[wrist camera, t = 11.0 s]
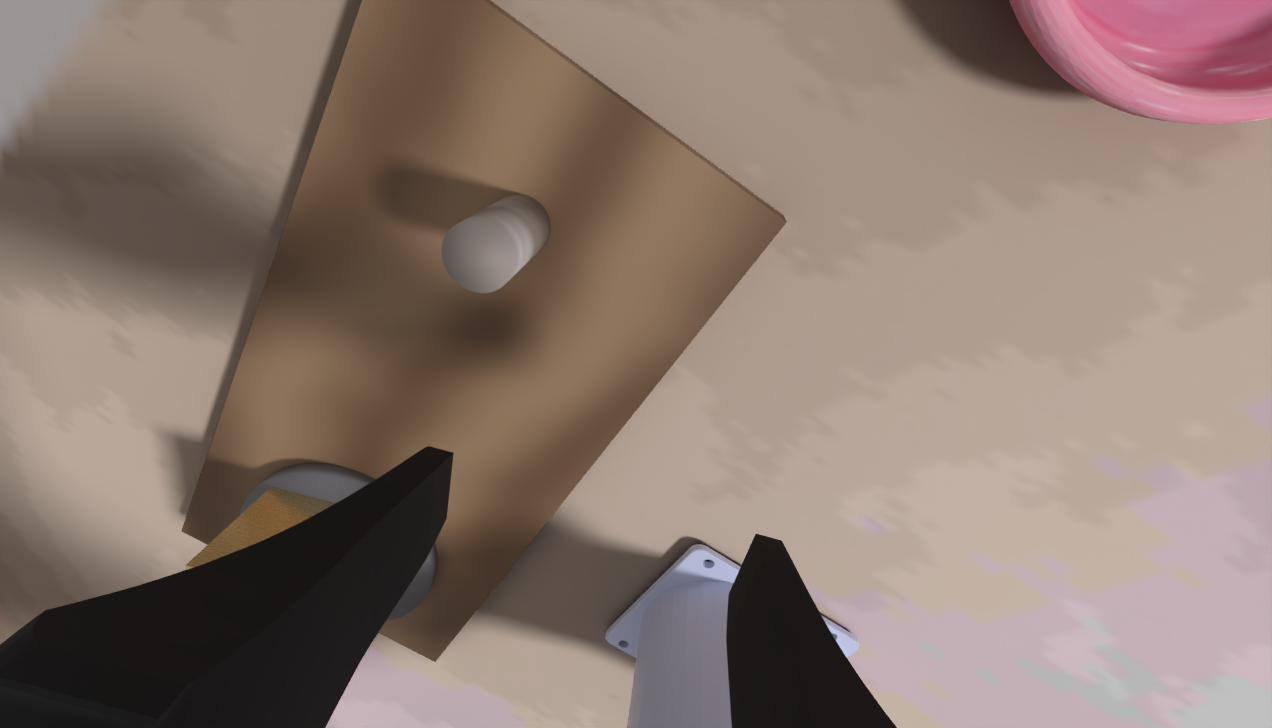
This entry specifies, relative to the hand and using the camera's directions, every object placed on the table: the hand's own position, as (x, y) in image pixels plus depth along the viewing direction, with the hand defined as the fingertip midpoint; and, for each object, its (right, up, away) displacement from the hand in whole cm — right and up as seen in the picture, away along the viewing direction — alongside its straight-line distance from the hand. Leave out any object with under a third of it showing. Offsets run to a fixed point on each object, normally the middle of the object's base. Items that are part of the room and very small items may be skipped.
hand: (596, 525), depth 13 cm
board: (-8, +2, +10) cm, 13 cm away
